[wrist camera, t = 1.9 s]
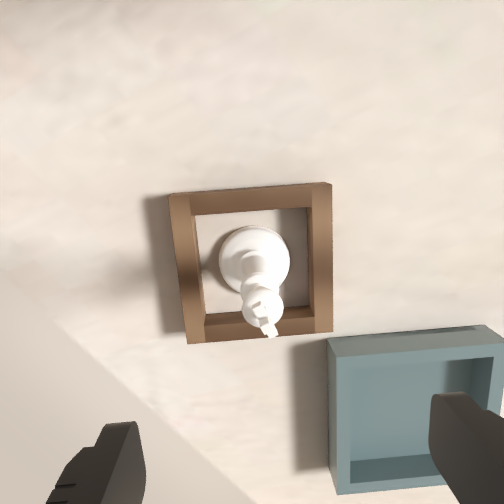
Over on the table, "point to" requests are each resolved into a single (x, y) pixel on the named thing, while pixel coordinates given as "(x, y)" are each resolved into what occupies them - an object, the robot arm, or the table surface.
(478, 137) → the table surface
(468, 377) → the tray
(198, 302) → the collar
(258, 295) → the chess piece
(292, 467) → the table surface
